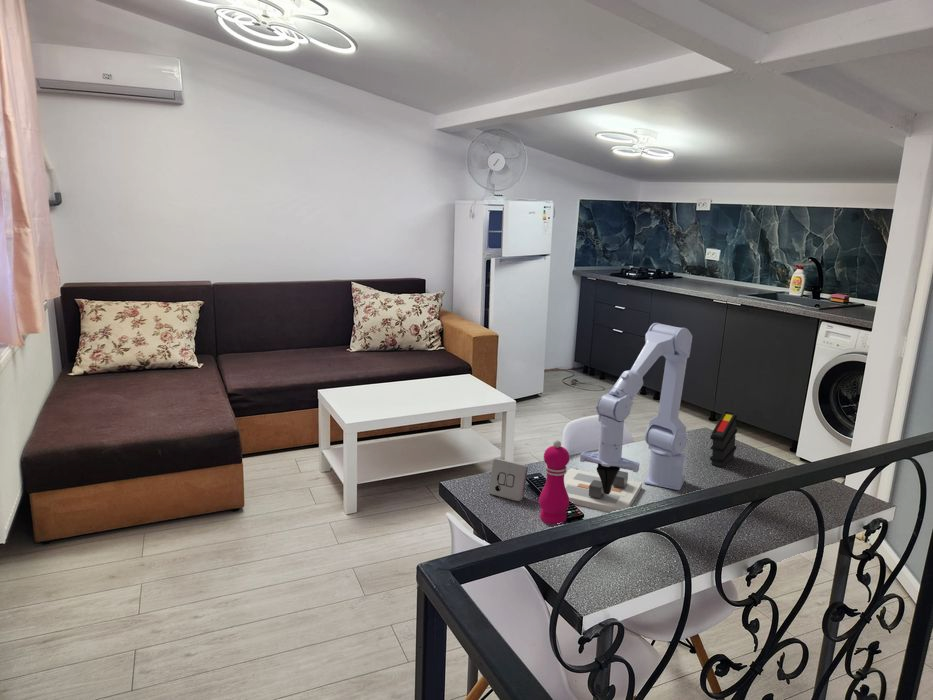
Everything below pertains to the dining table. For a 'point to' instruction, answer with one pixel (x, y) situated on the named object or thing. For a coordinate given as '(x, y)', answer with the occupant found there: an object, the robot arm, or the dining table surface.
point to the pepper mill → (554, 485)
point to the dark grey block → (620, 479)
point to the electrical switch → (508, 479)
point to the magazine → (724, 439)
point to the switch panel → (613, 501)
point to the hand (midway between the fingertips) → (607, 492)
